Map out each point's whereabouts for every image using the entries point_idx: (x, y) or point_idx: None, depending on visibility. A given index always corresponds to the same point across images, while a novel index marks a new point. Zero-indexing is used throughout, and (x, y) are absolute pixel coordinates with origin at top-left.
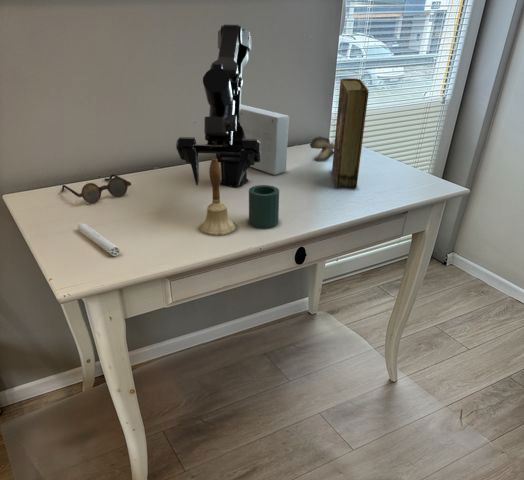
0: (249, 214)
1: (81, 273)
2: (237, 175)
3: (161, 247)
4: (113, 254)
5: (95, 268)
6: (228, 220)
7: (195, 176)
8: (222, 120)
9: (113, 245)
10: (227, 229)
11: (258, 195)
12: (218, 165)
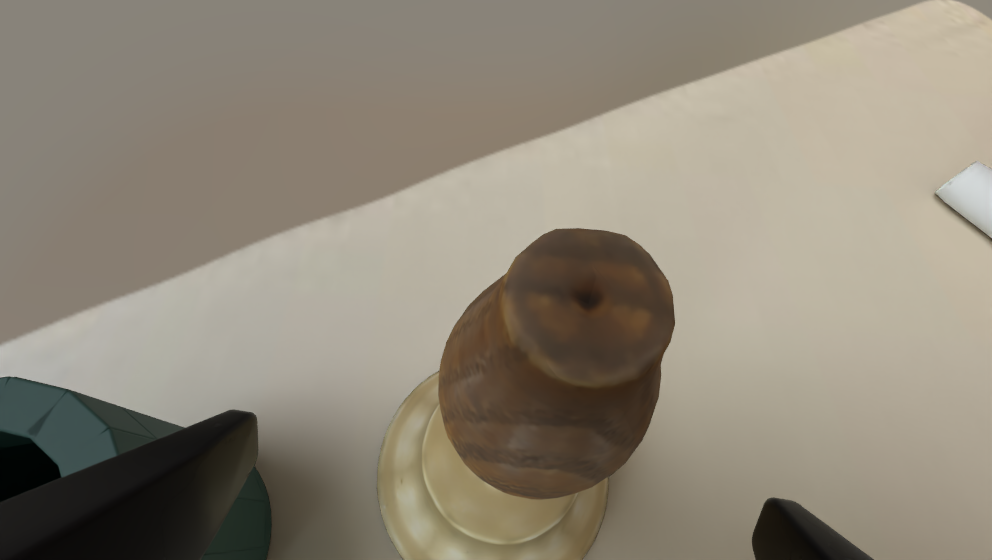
0: (242, 524)
1: (985, 89)
2: (161, 463)
3: (769, 251)
4: (951, 181)
5: (957, 114)
6: (421, 424)
7: (855, 556)
8: None
9: (988, 179)
10: (436, 381)
11: (73, 392)
12: (475, 302)
